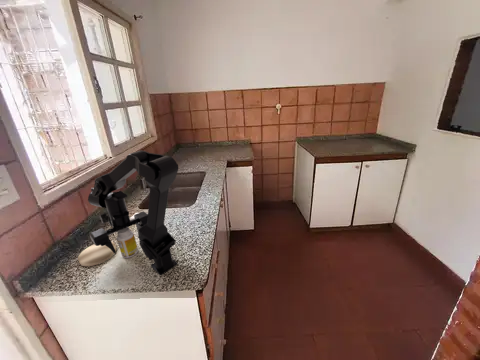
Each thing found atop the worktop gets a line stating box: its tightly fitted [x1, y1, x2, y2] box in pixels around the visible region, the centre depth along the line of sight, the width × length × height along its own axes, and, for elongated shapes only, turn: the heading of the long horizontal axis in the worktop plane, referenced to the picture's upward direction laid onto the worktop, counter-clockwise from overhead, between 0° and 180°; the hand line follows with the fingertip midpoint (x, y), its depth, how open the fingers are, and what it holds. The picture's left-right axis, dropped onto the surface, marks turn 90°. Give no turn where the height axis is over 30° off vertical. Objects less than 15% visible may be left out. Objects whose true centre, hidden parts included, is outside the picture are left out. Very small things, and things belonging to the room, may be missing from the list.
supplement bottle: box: [116, 227, 139, 259], centre depth 78 cm, size 6×6×10 cm
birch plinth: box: [77, 241, 118, 267], centre depth 80 cm, size 12×12×2 cm
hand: (128, 246), depth 79 cm, fingers open, 9 cm apart
